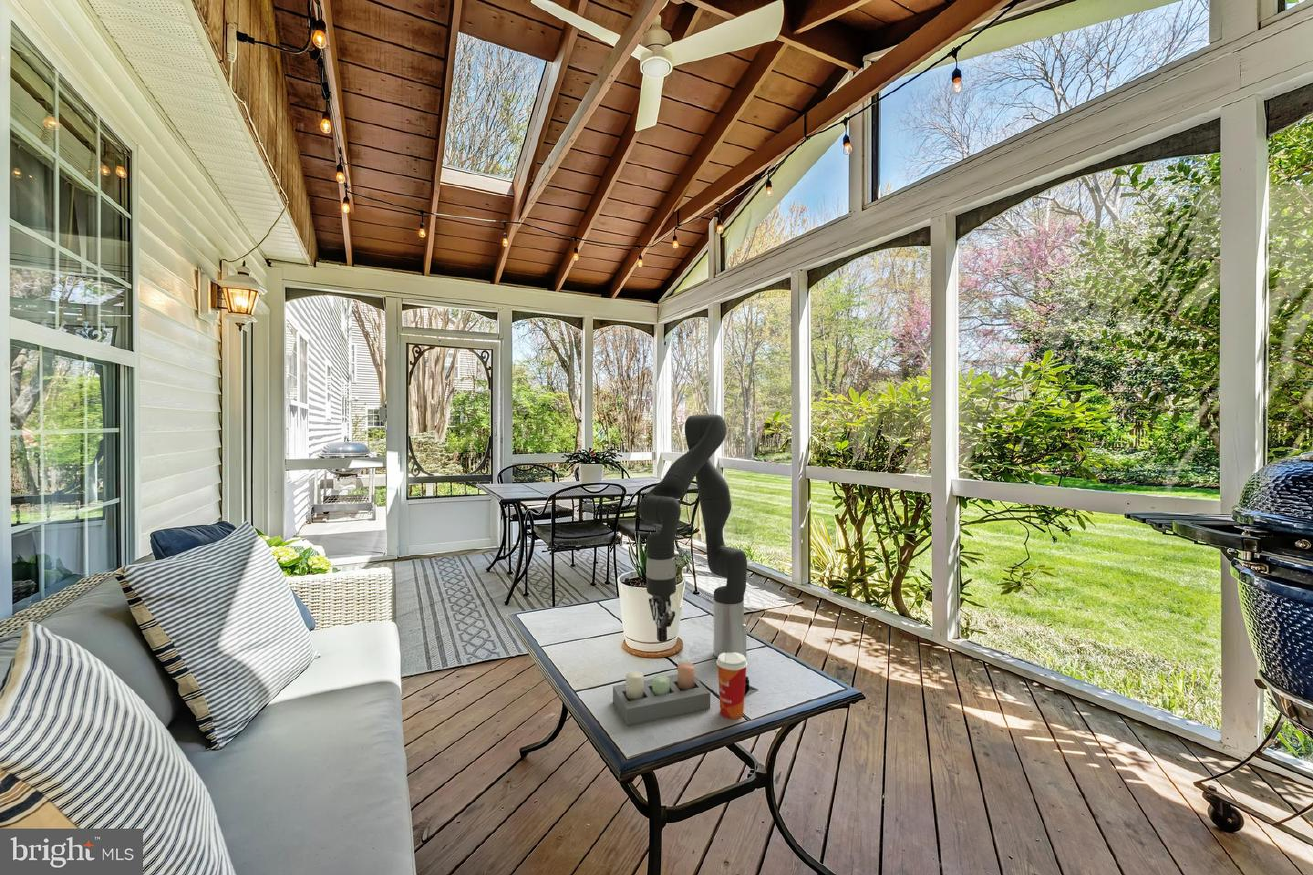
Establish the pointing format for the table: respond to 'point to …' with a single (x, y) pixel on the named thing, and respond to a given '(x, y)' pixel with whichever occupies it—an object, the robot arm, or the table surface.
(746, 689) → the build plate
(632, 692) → the cream button
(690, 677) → the terracotta button
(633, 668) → the table surface
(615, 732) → the table surface
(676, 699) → the button board
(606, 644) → the table surface
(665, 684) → the sage button
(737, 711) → the paper cup
